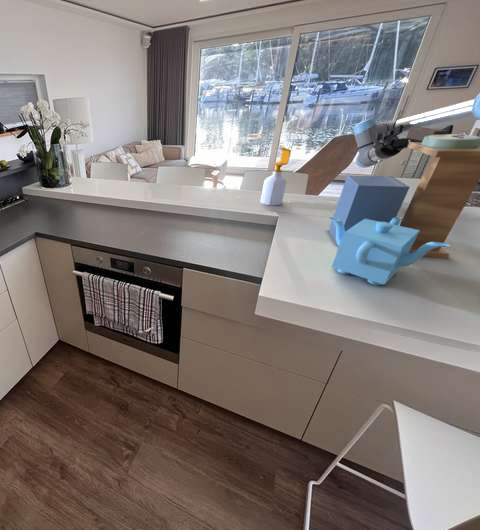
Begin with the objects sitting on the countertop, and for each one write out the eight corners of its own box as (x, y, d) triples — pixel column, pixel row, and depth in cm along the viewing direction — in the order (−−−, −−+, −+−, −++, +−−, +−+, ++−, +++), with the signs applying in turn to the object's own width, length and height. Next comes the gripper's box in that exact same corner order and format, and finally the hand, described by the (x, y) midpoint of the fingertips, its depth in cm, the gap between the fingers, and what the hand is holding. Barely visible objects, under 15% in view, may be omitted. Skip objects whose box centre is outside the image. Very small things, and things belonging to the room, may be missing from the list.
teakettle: (345, 289, 74) (366, 238, 67) (313, 255, 90) (328, 210, 83) (428, 292, 71) (460, 239, 64) (381, 256, 87) (402, 210, 80)
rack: (371, 233, 101) (409, 142, 86) (421, 237, 96) (471, 141, 81) (389, 254, 88) (438, 151, 73) (448, 259, 83) (514, 150, 68)
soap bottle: (255, 201, 136) (266, 146, 124) (271, 198, 139) (283, 144, 126) (269, 207, 129) (281, 149, 117) (286, 204, 131) (299, 146, 119)
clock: (391, 138, 93) (395, 128, 92) (432, 136, 91) (437, 126, 89) (438, 148, 75) (444, 136, 74) (491, 147, 73) (498, 134, 71)
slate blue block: (328, 231, 104) (347, 175, 94) (368, 234, 100) (392, 176, 90) (336, 245, 95) (358, 185, 85) (381, 249, 91) (409, 186, 81)
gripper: (421, 160, 113) (470, 141, 93) (348, 157, 119) (379, 139, 99) (425, 140, 112) (475, 117, 92) (351, 139, 119) (383, 117, 98)
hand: (425, 128), depth 95 cm, fingers open, 13 cm apart
